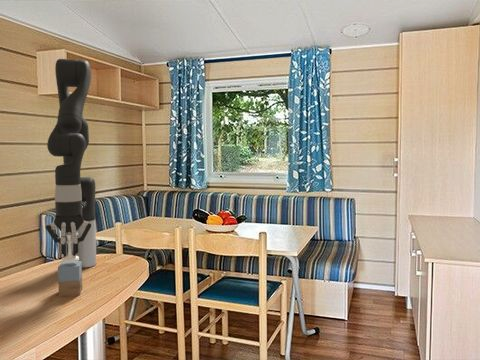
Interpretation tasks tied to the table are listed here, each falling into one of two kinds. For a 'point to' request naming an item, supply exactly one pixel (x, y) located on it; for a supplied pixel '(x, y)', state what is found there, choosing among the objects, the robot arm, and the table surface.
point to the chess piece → (70, 250)
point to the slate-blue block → (69, 271)
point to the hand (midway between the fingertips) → (70, 255)
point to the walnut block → (70, 288)
